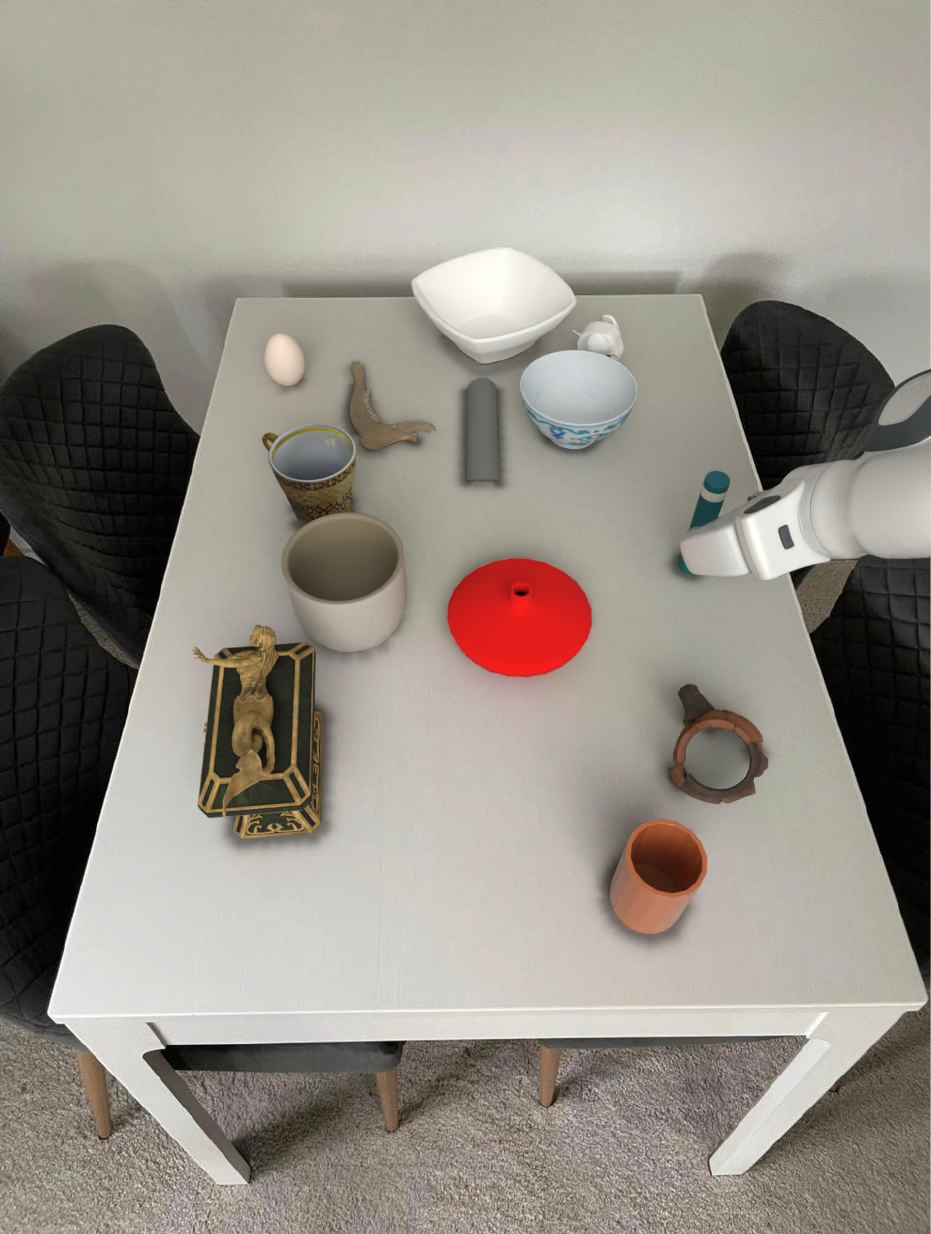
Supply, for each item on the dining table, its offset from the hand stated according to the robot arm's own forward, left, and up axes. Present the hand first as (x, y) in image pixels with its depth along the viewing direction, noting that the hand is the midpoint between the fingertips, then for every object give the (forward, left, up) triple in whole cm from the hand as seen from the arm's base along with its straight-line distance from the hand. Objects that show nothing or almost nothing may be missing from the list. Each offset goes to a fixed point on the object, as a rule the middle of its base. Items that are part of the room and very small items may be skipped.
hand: (721, 519), depth 88 cm
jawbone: (+49, -4, -9) cm, 50 cm away
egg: (+64, 0, -9) cm, 64 cm away
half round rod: (+35, -6, -9) cm, 37 cm away
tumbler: (-11, +38, -9) cm, 40 cm away
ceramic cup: (+45, +17, -9) cm, 49 cm away
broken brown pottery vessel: (-10, +22, -9) cm, 26 cm away
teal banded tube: (+2, 0, -9) cm, 9 cm away
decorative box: (+23, +48, -9) cm, 54 cm away
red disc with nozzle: (+14, +19, -9) cm, 25 cm away
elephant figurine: (+30, -29, -9) cm, 43 cm away
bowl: (+45, -24, -9) cm, 52 cm away
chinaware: (+25, -13, -9) cm, 30 cm away
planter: (+30, +28, -9) cm, 42 cm away
